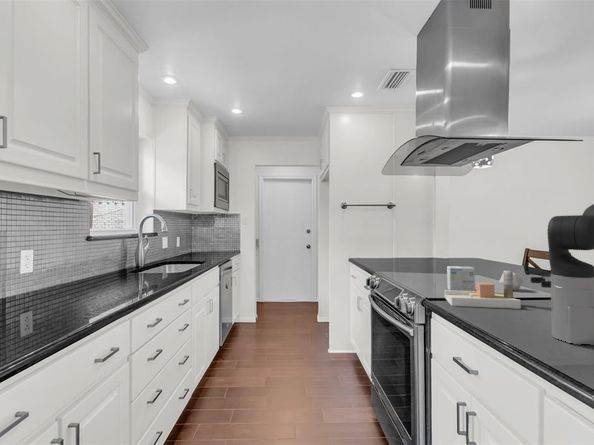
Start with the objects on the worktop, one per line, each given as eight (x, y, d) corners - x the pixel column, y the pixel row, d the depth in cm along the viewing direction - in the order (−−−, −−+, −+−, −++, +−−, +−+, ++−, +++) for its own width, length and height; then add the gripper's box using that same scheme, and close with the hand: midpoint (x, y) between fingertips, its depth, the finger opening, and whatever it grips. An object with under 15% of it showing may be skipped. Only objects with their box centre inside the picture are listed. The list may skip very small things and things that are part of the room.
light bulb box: (471, 288, 154) (470, 265, 154) (475, 291, 147) (475, 268, 147) (446, 288, 156) (446, 265, 156) (450, 291, 149) (449, 267, 149)
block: (494, 297, 124) (494, 284, 124) (480, 297, 126) (479, 284, 126) (490, 295, 129) (490, 282, 129) (476, 294, 130) (476, 282, 130)
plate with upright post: (518, 303, 120) (518, 273, 120) (476, 301, 123) (476, 272, 123) (507, 296, 130) (507, 269, 130) (468, 295, 134) (468, 268, 134)
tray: (520, 308, 118) (520, 300, 118) (451, 305, 124) (451, 297, 124) (506, 299, 132) (506, 292, 132) (444, 297, 137) (444, 290, 137)
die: (522, 294, 144) (529, 275, 147) (503, 284, 145) (510, 265, 148) (511, 296, 152) (517, 279, 155) (493, 287, 153) (499, 269, 156)
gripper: (575, 269, 126) (527, 269, 130) (599, 276, 112) (545, 275, 116) (575, 289, 126) (527, 288, 130) (600, 297, 112) (545, 296, 116)
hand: (536, 282), depth 123 cm, fingers open, 8 cm apart
